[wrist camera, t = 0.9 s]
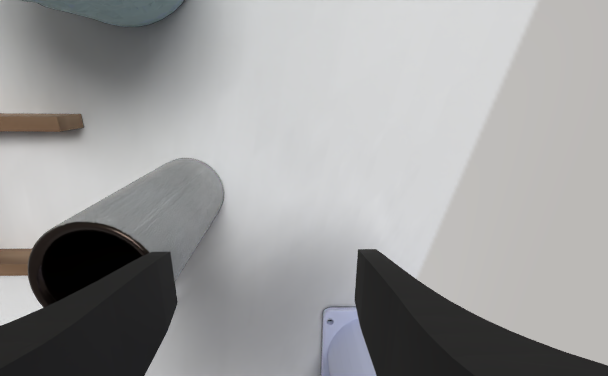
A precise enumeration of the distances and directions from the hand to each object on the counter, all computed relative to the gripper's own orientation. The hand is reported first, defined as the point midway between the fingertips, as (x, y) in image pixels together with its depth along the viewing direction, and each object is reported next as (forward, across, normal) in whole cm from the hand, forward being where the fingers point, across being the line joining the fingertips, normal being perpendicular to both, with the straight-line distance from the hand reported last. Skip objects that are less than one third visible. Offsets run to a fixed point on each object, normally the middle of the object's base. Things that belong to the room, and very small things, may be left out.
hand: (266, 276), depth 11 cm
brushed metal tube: (+11, +6, 0) cm, 12 cm away
